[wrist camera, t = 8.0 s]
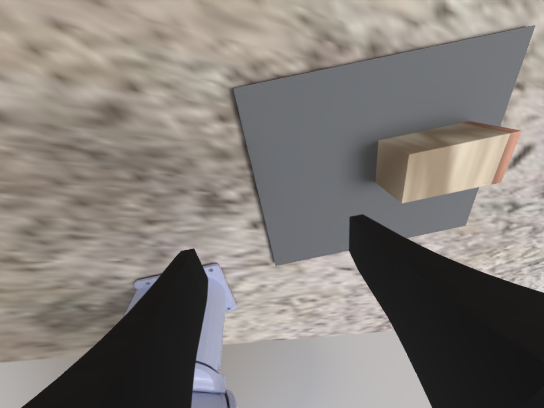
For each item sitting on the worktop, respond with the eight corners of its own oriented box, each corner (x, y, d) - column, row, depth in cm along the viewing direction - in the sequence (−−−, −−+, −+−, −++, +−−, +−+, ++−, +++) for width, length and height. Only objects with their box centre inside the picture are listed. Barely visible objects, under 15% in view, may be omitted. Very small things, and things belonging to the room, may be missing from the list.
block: (401, 203, 17) (500, 182, 17) (409, 154, 15) (521, 130, 15) (375, 182, 20) (457, 164, 21) (378, 140, 18) (470, 121, 18)
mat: (275, 262, 25) (275, 265, 25) (233, 88, 16) (233, 88, 15) (461, 222, 25) (465, 225, 25) (527, 26, 16) (535, 25, 15)
